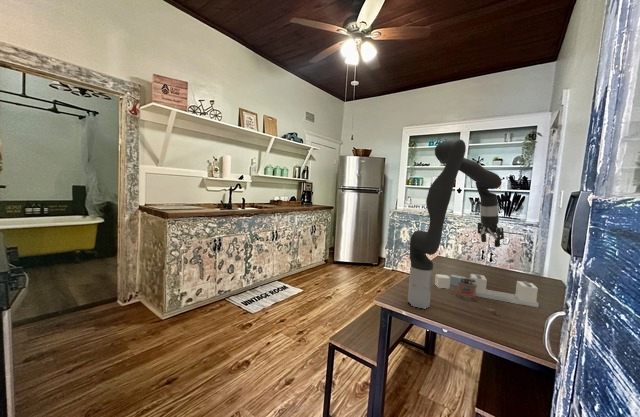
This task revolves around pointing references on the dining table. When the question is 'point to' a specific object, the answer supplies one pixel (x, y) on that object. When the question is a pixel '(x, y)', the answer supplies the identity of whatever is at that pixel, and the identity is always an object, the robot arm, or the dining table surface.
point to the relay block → (442, 281)
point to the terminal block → (455, 279)
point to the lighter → (466, 289)
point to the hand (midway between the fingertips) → (490, 244)
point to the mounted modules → (523, 289)
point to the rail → (505, 297)
